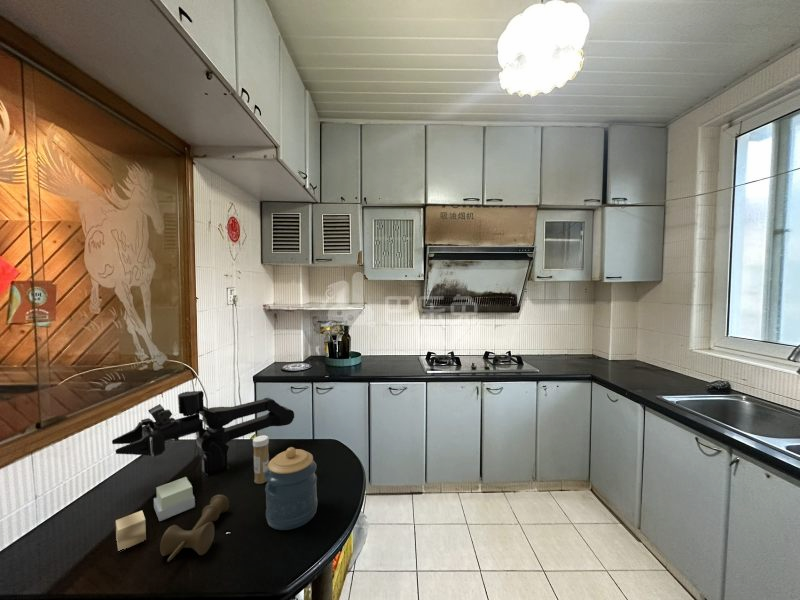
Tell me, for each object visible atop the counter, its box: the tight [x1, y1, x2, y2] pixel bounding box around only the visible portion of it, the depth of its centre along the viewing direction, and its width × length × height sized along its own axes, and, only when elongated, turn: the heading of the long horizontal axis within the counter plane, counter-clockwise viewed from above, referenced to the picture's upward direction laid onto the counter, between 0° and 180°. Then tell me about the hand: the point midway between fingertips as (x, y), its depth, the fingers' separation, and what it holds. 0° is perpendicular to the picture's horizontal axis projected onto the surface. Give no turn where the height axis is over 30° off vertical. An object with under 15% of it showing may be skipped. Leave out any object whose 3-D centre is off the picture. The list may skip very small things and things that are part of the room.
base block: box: [153, 495, 196, 522], centre depth 89 cm, size 8×8×3 cm
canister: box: [264, 446, 318, 531], centre depth 85 cm, size 13×13×18 cm
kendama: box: [159, 494, 230, 562], centre depth 77 cm, size 6×10×20 cm
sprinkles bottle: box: [252, 434, 270, 485], centre depth 101 cm, size 5×5×14 cm
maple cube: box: [115, 510, 147, 552], centre depth 77 cm, size 5×5×5 cm
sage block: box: [155, 476, 194, 509], centre depth 89 cm, size 7×7×3 cm
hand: (113, 446), depth 90 cm, fingers open, 9 cm apart
